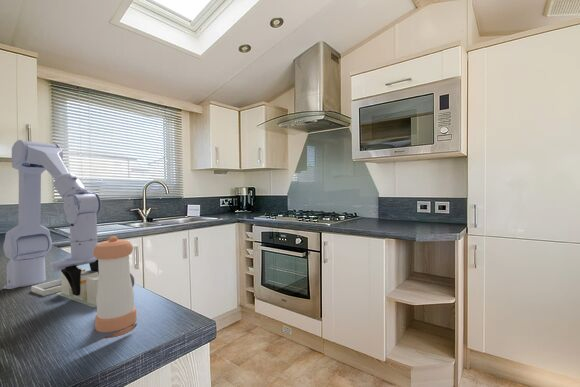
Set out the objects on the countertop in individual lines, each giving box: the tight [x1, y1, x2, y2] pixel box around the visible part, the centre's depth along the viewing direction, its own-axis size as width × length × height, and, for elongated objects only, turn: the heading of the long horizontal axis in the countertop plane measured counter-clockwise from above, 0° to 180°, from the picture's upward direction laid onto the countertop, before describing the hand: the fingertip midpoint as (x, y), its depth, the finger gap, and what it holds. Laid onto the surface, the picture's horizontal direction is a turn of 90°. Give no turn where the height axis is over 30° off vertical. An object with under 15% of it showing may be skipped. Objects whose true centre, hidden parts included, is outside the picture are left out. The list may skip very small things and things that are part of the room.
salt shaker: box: [93, 235, 138, 339], centre depth 60 cm, size 7×7×19 cm
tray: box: [30, 278, 62, 297], centre depth 81 cm, size 8×8×3 cm
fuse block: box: [55, 291, 97, 308], centre depth 75 cm, size 19×6×3 cm, turn 60°
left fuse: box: [60, 266, 86, 296], centre depth 79 cm, size 4×4×6 cm
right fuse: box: [86, 275, 99, 305], centre depth 72 cm, size 4×4×6 cm
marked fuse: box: [74, 269, 98, 300], centre depth 75 cm, size 4×4×6 cm
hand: (86, 291), depth 75 cm, fingers closed on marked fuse, 4 cm apart
